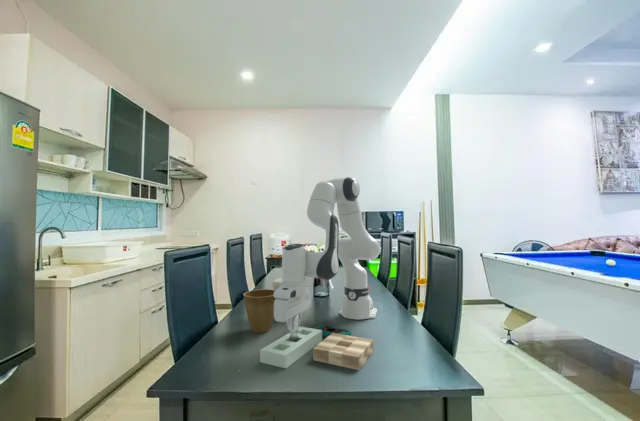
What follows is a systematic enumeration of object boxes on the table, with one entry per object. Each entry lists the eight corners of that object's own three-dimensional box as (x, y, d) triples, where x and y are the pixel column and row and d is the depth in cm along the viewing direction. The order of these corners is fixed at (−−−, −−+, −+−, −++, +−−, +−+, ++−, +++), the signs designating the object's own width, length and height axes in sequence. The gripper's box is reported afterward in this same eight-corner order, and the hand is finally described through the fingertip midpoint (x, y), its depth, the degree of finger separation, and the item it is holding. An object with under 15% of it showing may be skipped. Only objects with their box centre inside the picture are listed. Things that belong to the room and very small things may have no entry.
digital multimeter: (322, 330, 132) (322, 323, 132) (351, 337, 123) (351, 330, 123) (312, 335, 126) (312, 327, 126) (342, 343, 117) (341, 335, 117)
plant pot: (259, 322, 140) (259, 287, 141) (285, 328, 133) (285, 291, 134) (235, 332, 128) (235, 294, 128) (262, 339, 120) (262, 298, 121)
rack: (300, 336, 123) (300, 326, 123) (322, 340, 118) (322, 330, 118) (260, 362, 99) (260, 349, 100) (285, 368, 95) (285, 355, 95)
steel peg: (292, 343, 111) (292, 310, 112) (300, 345, 110) (300, 311, 110) (287, 347, 108) (287, 313, 109) (295, 348, 107) (295, 314, 108)
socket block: (332, 343, 115) (332, 332, 115) (373, 351, 108) (373, 339, 108) (313, 360, 101) (313, 348, 101) (358, 370, 94) (358, 357, 94)
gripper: (300, 283, 121) (300, 318, 120) (270, 293, 102) (270, 335, 102) (314, 284, 118) (314, 320, 117) (286, 295, 100) (286, 338, 99)
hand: (294, 327), depth 109 cm, fingers closed on steel peg, 3 cm apart
